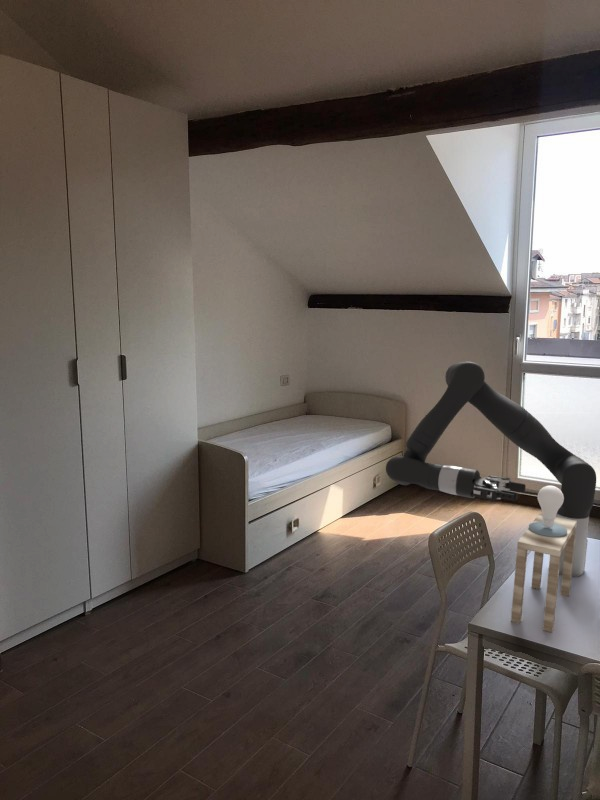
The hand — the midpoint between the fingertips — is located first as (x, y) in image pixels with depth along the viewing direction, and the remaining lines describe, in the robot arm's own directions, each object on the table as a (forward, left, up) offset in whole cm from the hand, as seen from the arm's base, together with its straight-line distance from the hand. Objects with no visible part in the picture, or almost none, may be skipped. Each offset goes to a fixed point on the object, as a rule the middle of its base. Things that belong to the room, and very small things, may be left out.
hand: (521, 492), depth 165 cm
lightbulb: (-3, +7, -8) cm, 11 cm away
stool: (-3, +7, -29) cm, 30 cm away
